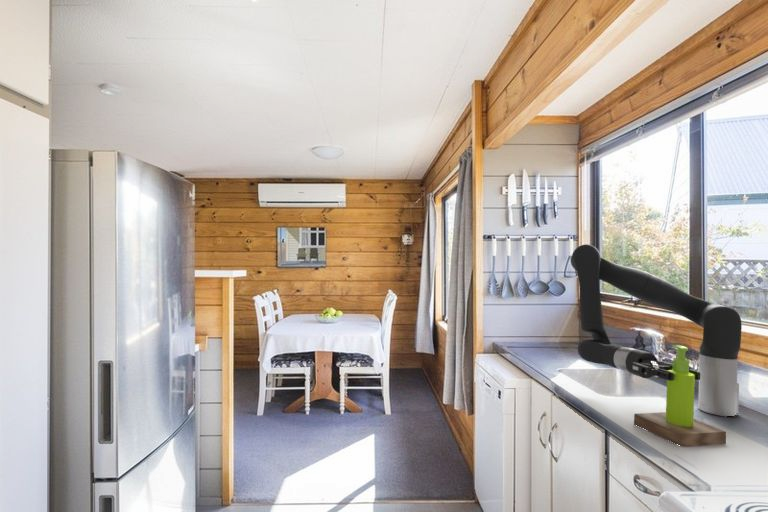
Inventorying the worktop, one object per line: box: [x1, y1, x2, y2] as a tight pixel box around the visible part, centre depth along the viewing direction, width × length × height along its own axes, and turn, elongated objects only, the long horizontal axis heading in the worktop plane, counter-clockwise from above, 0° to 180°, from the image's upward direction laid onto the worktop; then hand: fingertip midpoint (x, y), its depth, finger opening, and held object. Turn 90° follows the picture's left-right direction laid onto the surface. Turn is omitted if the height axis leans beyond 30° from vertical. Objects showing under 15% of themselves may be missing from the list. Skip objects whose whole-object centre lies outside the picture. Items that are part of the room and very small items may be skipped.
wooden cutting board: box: [633, 411, 727, 447], centre depth 109 cm, size 14×14×3 cm
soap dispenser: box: [665, 344, 696, 427], centre depth 109 cm, size 6×7×20 cm
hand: (686, 376), depth 107 cm, fingers open, 8 cm apart
